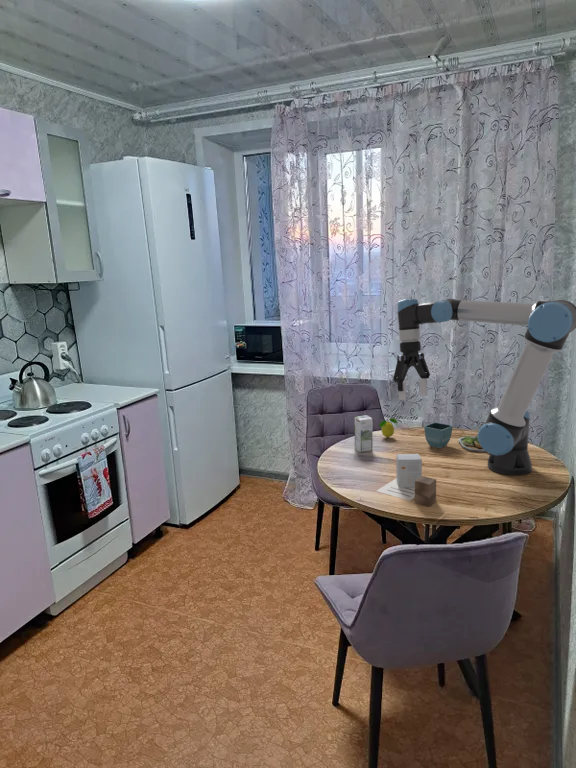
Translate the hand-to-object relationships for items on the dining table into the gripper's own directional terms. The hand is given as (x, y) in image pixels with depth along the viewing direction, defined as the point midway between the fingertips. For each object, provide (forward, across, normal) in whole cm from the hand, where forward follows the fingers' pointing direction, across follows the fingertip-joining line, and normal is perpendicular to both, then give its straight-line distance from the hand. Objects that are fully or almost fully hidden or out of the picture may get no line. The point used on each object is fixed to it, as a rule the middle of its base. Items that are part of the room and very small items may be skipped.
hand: (413, 397), depth 191 cm
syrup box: (+23, -2, -28) cm, 37 cm away
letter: (+29, +19, +7) cm, 35 cm away
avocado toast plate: (+26, -39, +5) cm, 47 cm away
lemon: (+22, -22, -30) cm, 43 cm away
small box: (+29, +16, +7) cm, 34 cm away
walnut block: (+31, +24, +18) cm, 43 cm away
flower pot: (+24, -27, -8) cm, 37 cm away
